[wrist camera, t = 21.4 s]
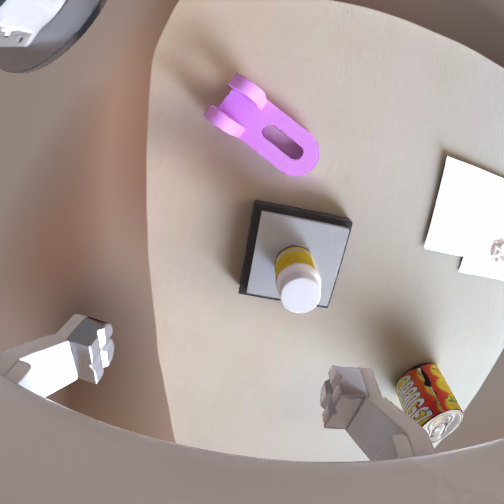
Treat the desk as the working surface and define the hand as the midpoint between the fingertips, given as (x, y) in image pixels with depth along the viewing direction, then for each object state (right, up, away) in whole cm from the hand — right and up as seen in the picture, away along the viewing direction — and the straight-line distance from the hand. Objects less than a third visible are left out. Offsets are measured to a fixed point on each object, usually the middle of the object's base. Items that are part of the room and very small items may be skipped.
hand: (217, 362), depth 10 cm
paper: (+38, +8, +26) cm, 46 cm away
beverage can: (+32, -20, +37) cm, 53 cm away
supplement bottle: (+6, +3, +27) cm, 28 cm away
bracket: (+3, +18, +24) cm, 30 cm away
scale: (+6, +4, +29) cm, 30 cm away
